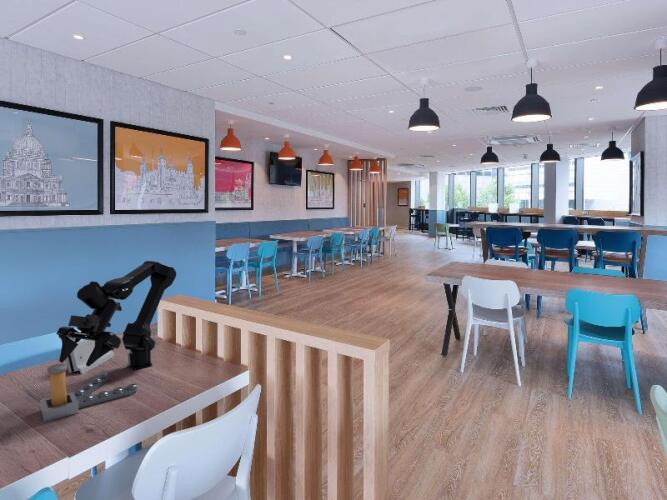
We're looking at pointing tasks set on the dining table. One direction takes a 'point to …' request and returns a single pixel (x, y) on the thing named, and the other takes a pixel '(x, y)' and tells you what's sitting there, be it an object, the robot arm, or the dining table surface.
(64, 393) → the pin
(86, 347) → the hinge
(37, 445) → the dining table surface
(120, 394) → the grey forked bracket
